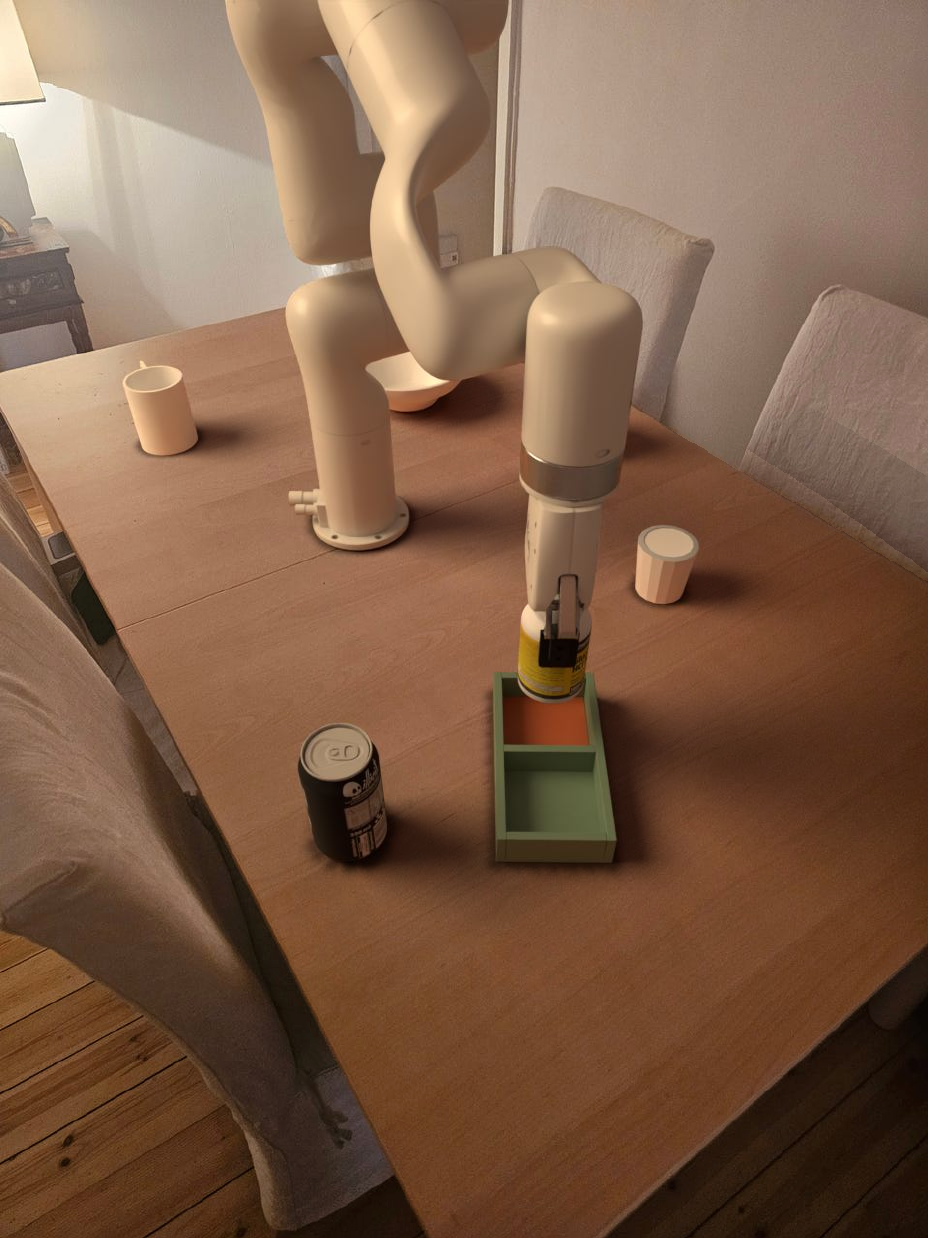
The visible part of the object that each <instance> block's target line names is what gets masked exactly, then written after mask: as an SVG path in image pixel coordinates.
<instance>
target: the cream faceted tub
mask: <svg viewBox="0 0 928 1238" xmlns="http://www.w3.org/2000/svg"><path fill="white" fill-rule="evenodd" d="M699 550H700V547H699V541H698V540H697V538H696V537H695V536H694V535H693V533H690V531H688V530H686V529H684V528H681V527H679V526H675V525H666V524H658V525H653V526H649V527H647V528H645V529H644V530H642V531H641V532H640V534H639V535H638V537H637V551H636V566H635V567H636V568H635V582H634V583H635V584H634V585H635V591H636V593H637V594H638V596H639V597H641V598H642V599H643V600H645V601H646V602H651V603H653V604H659V605H667V604H673V603H675V602H677V601H678V600H680V599H681V598H682V596H683V593H684V591H685V587H686V585H687V583H688V580H689V577H690V574H691V572H692V569H693V566H694V563H695V561H696V559H697V555H698V552H699Z"/></svg>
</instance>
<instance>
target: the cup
mask: <svg viewBox="0 0 928 1238" xmlns="http://www.w3.org/2000/svg"><path fill="white" fill-rule="evenodd" d="M139 366H140V368H139V369H136V370H134V371H131V372H130V373H128V374H126V376H125V377H124V378H123V379H122V382H121V383H122V386H123V391H124V393H125V398H126V399H127V403H128V406H129V409H130V413H131V415H132V420H133V422H134V425H135V428H136V432H137V435H138V439H139V441H140V446H141V448H142V449H143V451H144V452H146V453H148V454H149V455H153V456H173V455H177V454H180V453H184V452H185V451H187V450H190V449H191V448H193V446H195V445H196V443H197V442H198V440H199V436H198V432H197V428H196V424H195V420H194V415H193V411H192V407H191V403H190V400H189V396H188V392H187V389H186V384H185V381H184V380H185V379H184V377H183V373H182V371H181V370H180V369H178V368H176V367H173V366H170V365H151V366H147V365H146V364H145V362H144V360H140V361H139Z"/></svg>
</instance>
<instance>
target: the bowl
mask: <svg viewBox="0 0 928 1238" xmlns="http://www.w3.org/2000/svg"><path fill="white" fill-rule="evenodd" d="M366 371H368V372H369V373H370V374H371V375H373V376H374V377H375V378H376V379H377V380H378V381H379V382H380V383H381V384H382V386H383V387H384V389H385V391H386V393H387V396H388V400H389V409H390V411H394V412H408V413H409V412H416V411H421V410H424V409H427V408H429V407H431V406H433V405H434V404H435V403H436V402H437V400H438V399H439V398H441V397H443V396H446V395H447V394H449V393H451V392H452V391H453V390H455V388H456V387H457V386H458V385H459V384H460V383H461V381H462V380H459V381H445V380H440V379H437V378H435V377H433V376H431V375H430V374H429V373H427V372H426V371H425V370H424V369H423V368H421V366H420V365H419V364H418V363H417V361H416V360H415V359H414V357H413V356H412V354H411V352H407V353H403V354H399V355H395V356H392V357H388V358H384V359H381V360H379V361H375V362H372V363H370V364H368V365H367V366H366Z"/></svg>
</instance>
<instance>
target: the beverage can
mask: <svg viewBox="0 0 928 1238" xmlns="http://www.w3.org/2000/svg"><path fill="white" fill-rule="evenodd" d="M297 773H298V777H299V781H300V786H301V791H302V794H303V795H302V796H303V799H304V803H305V807H306V811H307V816H308V820H309V826H310V829H311V833H312V837H313V841H314V844H315V845H316V847H317V849H318V850H319V852H320V853H322V854H323V855H324V856H326V857H328V858H330V859H332V860H334V861H338V862H344V863H345V862H355V861H359V860H363V859H365V858H367V857H369V856H371V855H372V854H373V853H375V852H376V851H377V850H378V849H379V848H380V847H381V845H382V844H383V842H384V840H385V838H386V835H387V831H388V820H387V812H386V804H385V796H384V785H383V779H382V771H381V761H380V755H379V751H378V748H377V747H376V745H375V743H374V742H373V741H372V739H371V737H370V736H369V735H368V733H367V732H366V731H365V730H364V729H363V728H361V727H359V726H358V725H355V724H352V723H347V722H334V723H329V724H326V725H323V726H321V727H319V728H317V729H315V730H314V731H312V732H311V733H310V734H309V735H308V736H307V737H306V739H305V740H304V742H303V743H302V745H301V748H300V755H299V758H298V762H297Z"/></svg>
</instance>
